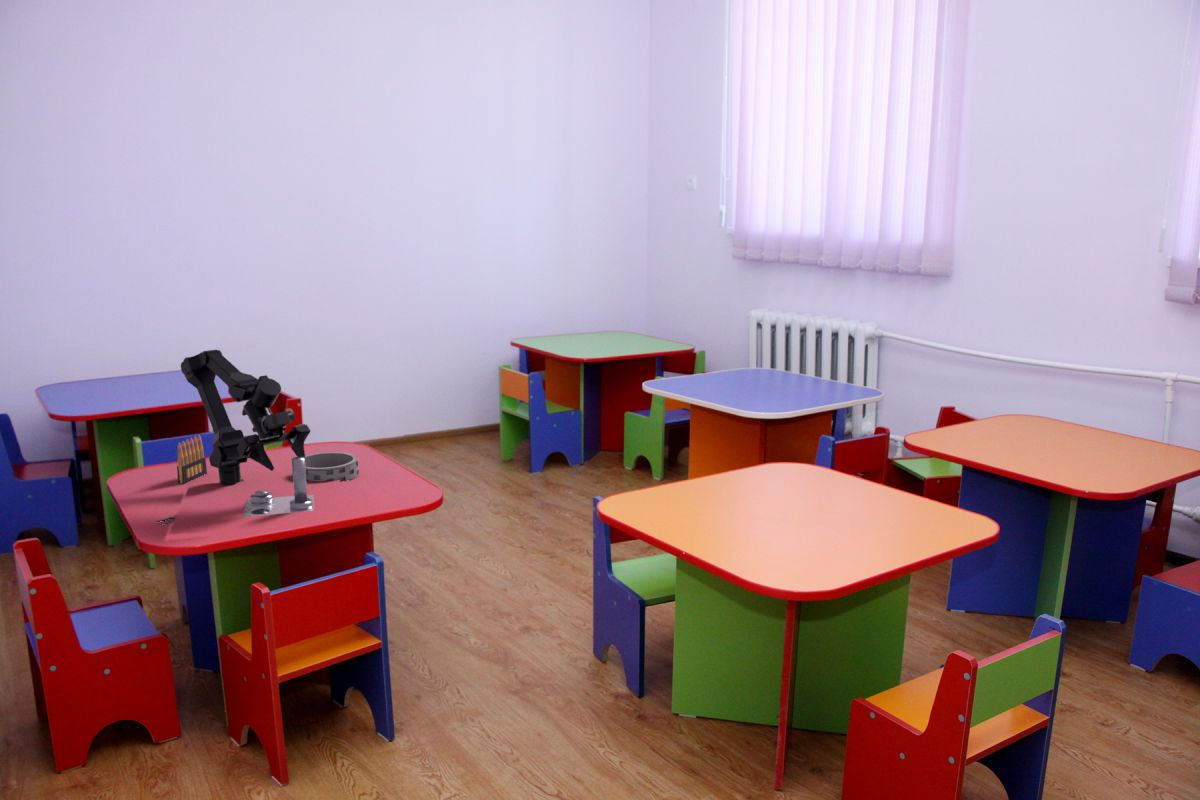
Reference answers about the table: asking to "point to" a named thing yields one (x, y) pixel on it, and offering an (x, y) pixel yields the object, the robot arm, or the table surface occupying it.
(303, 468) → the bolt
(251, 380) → the robot arm
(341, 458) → the ring
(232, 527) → the table surface
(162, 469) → the table surface
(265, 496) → the grey metal knob
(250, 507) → the plate
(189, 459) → the ammunition clip
